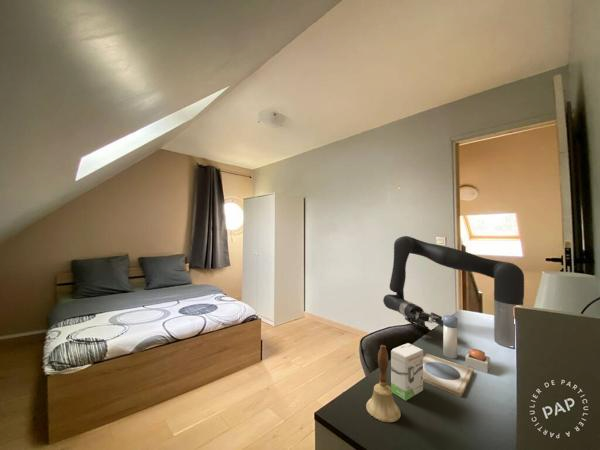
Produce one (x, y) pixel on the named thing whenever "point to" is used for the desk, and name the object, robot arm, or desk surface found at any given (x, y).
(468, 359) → the button housing
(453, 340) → the white bottle
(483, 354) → the button
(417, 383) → the ink box
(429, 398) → the desk surface
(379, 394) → the hand bell
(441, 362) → the beige flat board
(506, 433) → the desk surface
